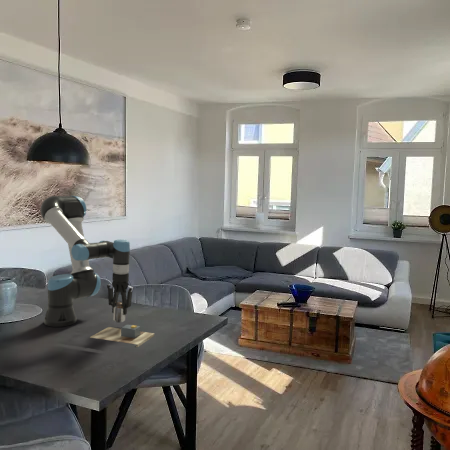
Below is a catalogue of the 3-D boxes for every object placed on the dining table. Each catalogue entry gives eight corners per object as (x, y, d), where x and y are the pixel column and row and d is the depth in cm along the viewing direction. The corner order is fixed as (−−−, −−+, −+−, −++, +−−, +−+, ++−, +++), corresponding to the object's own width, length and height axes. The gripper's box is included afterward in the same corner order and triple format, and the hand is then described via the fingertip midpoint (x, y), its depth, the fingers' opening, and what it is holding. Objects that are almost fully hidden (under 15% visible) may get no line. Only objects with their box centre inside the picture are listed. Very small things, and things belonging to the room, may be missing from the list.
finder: (121, 336, 208) (121, 326, 208) (126, 332, 213) (126, 323, 213) (134, 338, 206) (135, 328, 206) (140, 334, 211) (140, 325, 211)
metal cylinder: (114, 321, 220) (114, 303, 219) (117, 319, 224) (118, 301, 223) (120, 322, 219) (121, 304, 218) (124, 320, 223) (124, 302, 222)
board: (89, 339, 206) (89, 337, 206) (108, 329, 221) (108, 327, 221) (137, 347, 199) (137, 344, 199) (154, 335, 214) (154, 333, 214)
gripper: (101, 272, 218) (99, 320, 220) (132, 276, 213) (130, 325, 216) (109, 269, 225) (108, 315, 227) (140, 273, 220) (138, 320, 223)
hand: (119, 320), depth 222 cm, fingers closed on metal cylinder, 3 cm apart
